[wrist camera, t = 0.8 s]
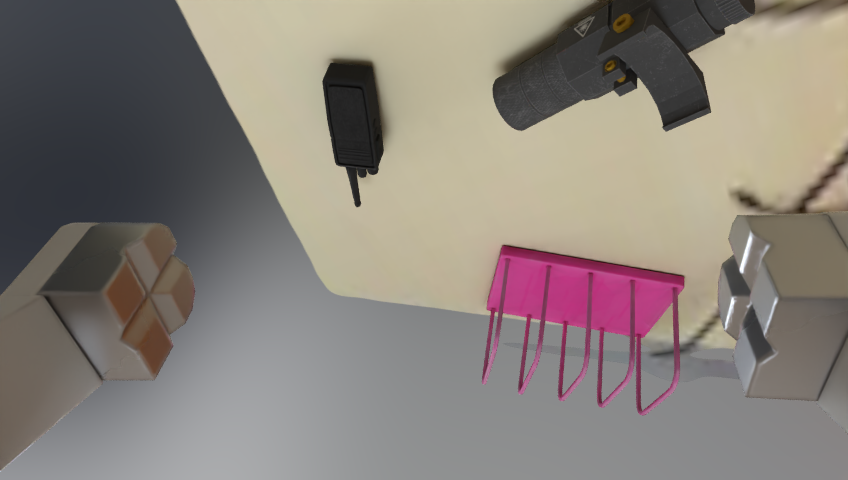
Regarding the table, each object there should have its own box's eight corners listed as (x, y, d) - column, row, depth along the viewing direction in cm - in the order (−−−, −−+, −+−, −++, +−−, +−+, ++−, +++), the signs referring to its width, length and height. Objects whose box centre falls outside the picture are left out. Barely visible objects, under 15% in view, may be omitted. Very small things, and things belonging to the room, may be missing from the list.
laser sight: (482, 49, 61) (467, 128, 56) (715, -103, 46) (725, -15, 41) (545, 109, 66) (537, 186, 61) (775, -11, 51) (790, 78, 46)
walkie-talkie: (389, 76, 63) (403, 209, 79) (357, 46, 66) (377, 179, 82) (335, 100, 61) (360, 232, 77) (305, 68, 64) (335, 201, 80)
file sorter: (643, 327, 102) (643, 425, 94) (487, 300, 104) (474, 393, 95) (685, 275, 87) (689, 385, 79) (502, 244, 89) (488, 348, 81)
